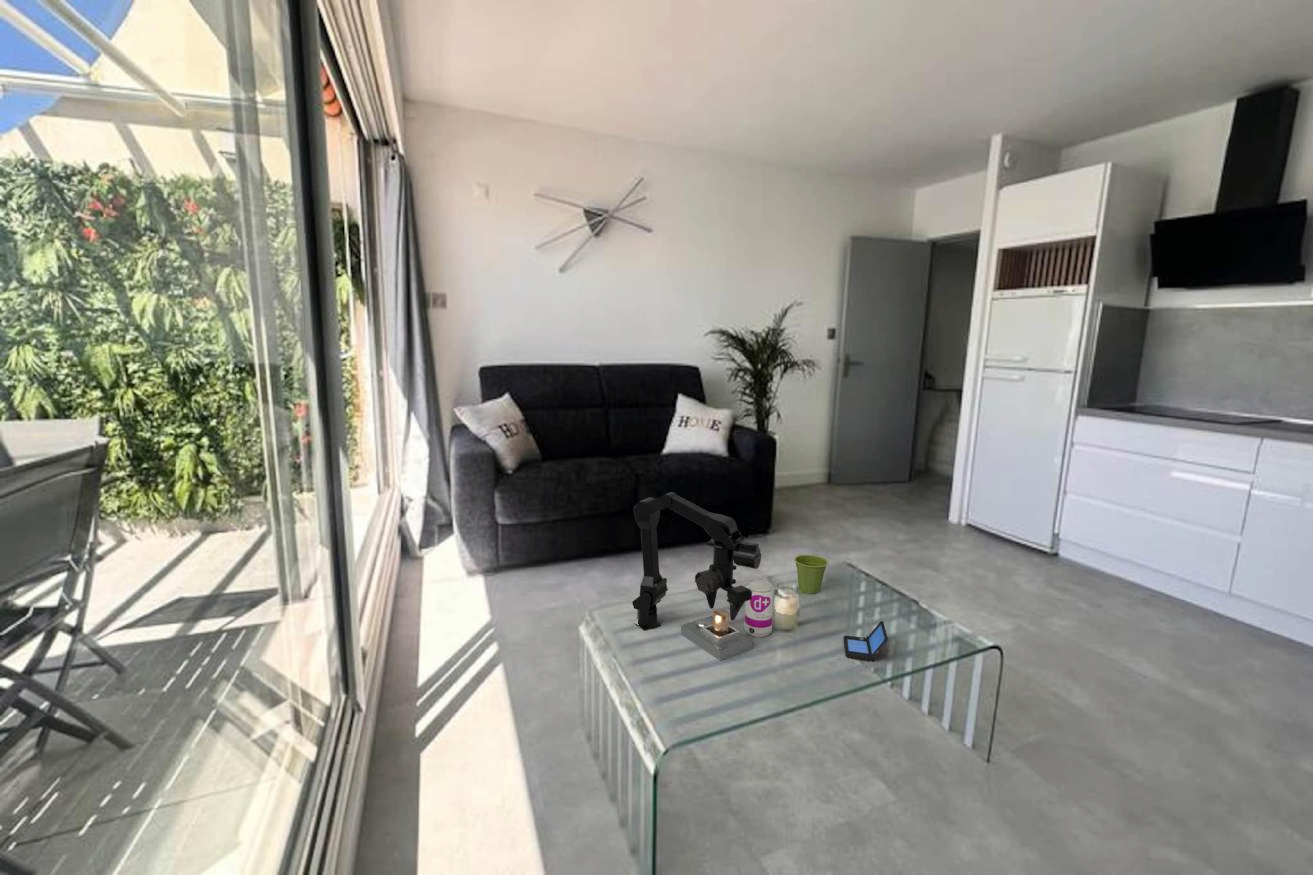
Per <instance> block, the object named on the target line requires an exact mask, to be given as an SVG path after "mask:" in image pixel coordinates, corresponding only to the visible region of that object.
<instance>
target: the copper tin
mask: <svg viewBox="0 0 1313 875" xmlns="http://www.w3.org/2000/svg"><path fill="white" fill-rule="evenodd" d="M712 616H713V634H715V635H717V636H718V637H721V636H724V635H727V634H728V627H729V626H730V623H729V622H730V620H729V619H730V612H728V611H727V610H724V609H716V610H714V611H713V613H712Z"/></svg>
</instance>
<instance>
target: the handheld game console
mask: <svg viewBox="0 0 1313 875" xmlns="http://www.w3.org/2000/svg"><path fill="white" fill-rule="evenodd" d="M888 640H889V638H888V634H887V630H886V627H885V624H884V621H883V620H881V621H879V623H878V624H877V625H876V626H875V628H874V629H873V630H872V631H871V632H870V633H869V635H867V636H866V637H862V636H861V637H860V636H856V635H855V636H853V635H844V636H843V646H844V647H843V648H844V654H845V658H847V659H849V658H851V659H850V660H856V661H863V662H864V661H865V662H871V663H874V661H875V660H874V659H875V657H876V656H877V655H878V654H879V652H880V651H881V650H882V649H883V647H885V646H886V644H887V643H888Z"/></svg>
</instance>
